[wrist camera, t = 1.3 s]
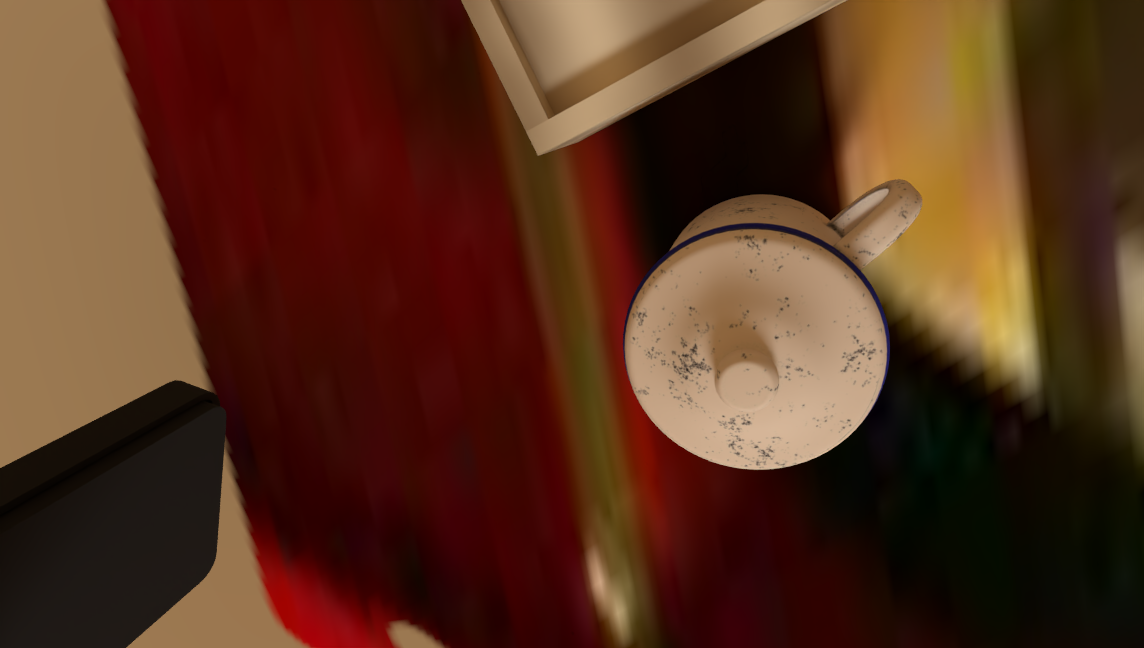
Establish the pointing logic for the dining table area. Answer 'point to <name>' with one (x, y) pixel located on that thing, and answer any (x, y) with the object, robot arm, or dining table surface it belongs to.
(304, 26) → the dining table surface
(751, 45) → the tray
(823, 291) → the teacup with lid
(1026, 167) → the dining table surface
